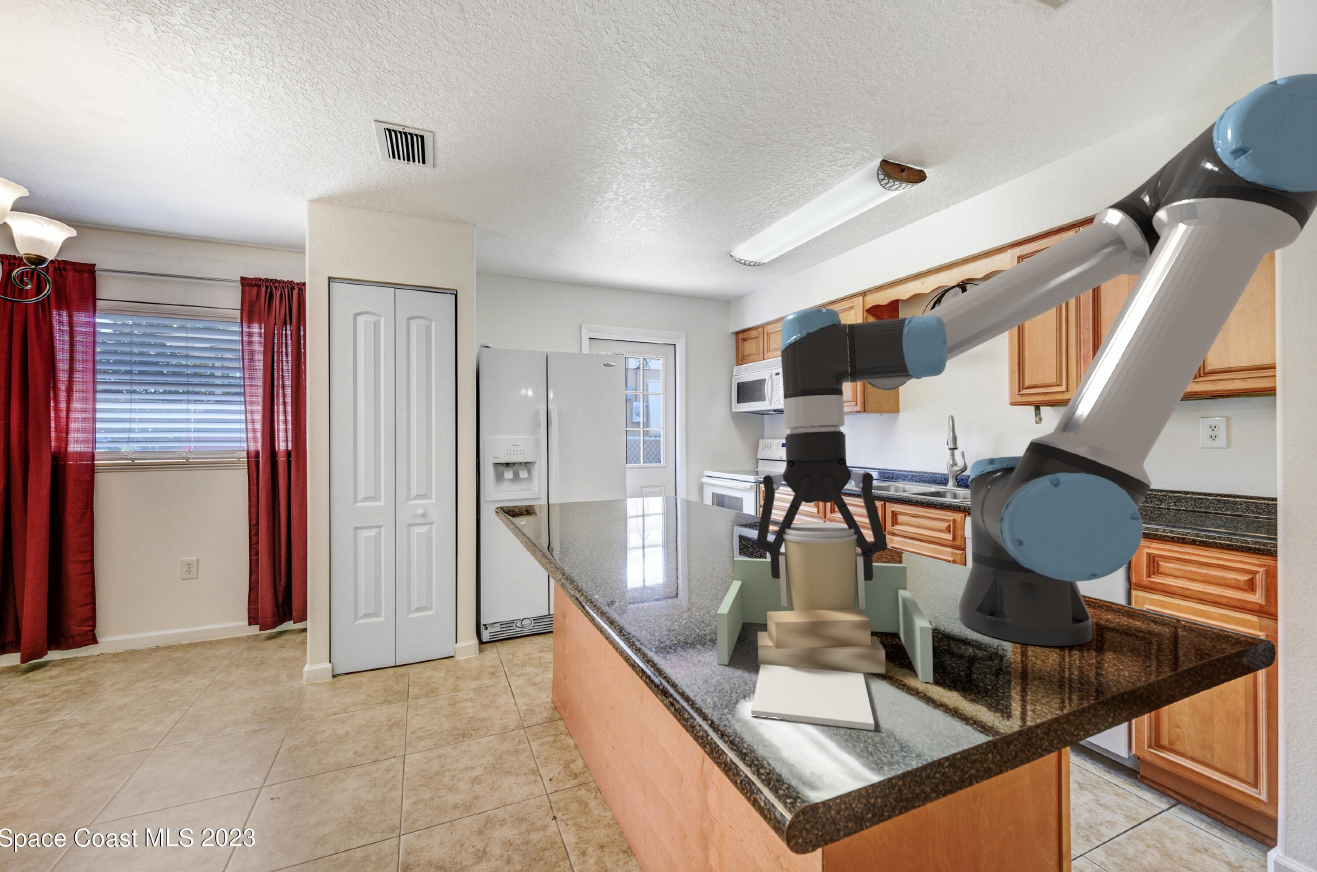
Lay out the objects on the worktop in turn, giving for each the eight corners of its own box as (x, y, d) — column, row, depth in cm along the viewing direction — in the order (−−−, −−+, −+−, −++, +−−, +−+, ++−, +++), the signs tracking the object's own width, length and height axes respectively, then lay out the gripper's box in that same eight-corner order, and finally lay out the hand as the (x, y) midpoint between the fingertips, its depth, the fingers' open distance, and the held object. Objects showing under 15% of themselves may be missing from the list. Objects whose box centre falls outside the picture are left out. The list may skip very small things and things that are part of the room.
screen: (906, 630, 75) (904, 564, 75) (933, 683, 59) (931, 598, 59) (735, 618, 81) (734, 557, 81) (717, 663, 65) (716, 587, 65)
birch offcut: (876, 661, 66) (876, 636, 66) (885, 677, 62) (884, 650, 62) (758, 655, 68) (757, 631, 68) (758, 670, 64) (758, 644, 64)
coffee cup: (829, 605, 77) (825, 519, 78) (877, 624, 69) (873, 528, 69) (772, 615, 74) (768, 525, 74) (815, 636, 65) (811, 535, 65)
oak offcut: (856, 633, 67) (856, 608, 67) (870, 645, 63) (870, 619, 63) (767, 636, 67) (767, 611, 67) (775, 648, 63) (775, 622, 63)
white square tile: (862, 678, 60) (862, 673, 60) (874, 730, 50) (874, 723, 50) (761, 669, 63) (760, 664, 63) (751, 716, 52) (751, 709, 53)
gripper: (899, 427, 73) (907, 599, 72) (735, 434, 78) (742, 593, 78) (909, 426, 65) (918, 617, 65) (727, 434, 71) (735, 609, 71)
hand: (822, 604), depth 71 cm, fingers closed on coffee cup, 9 cm apart
